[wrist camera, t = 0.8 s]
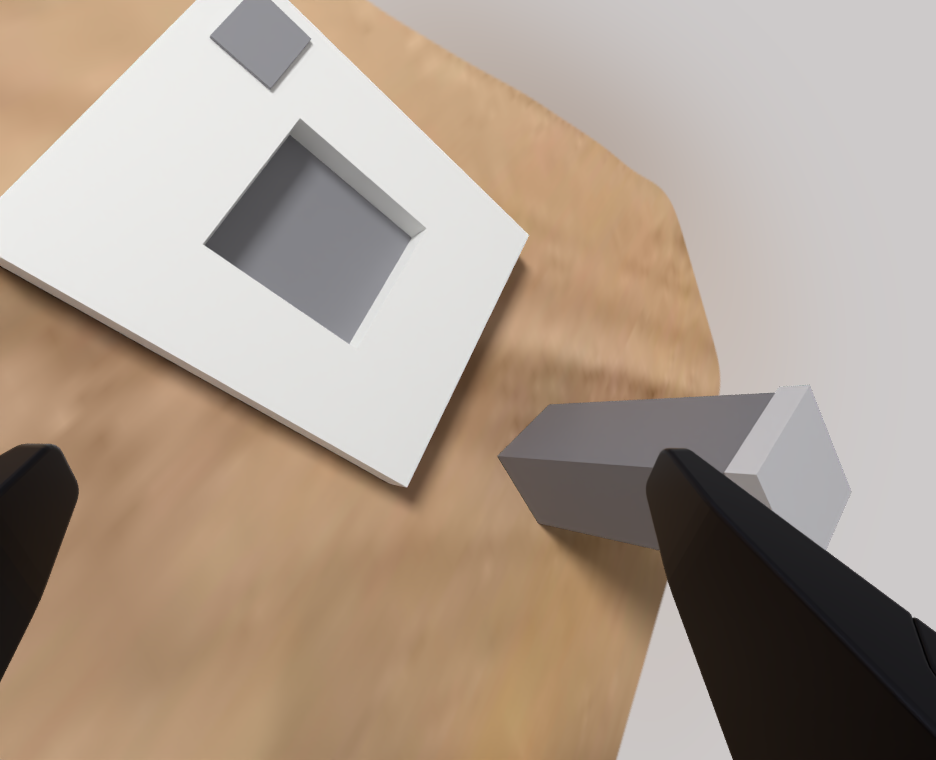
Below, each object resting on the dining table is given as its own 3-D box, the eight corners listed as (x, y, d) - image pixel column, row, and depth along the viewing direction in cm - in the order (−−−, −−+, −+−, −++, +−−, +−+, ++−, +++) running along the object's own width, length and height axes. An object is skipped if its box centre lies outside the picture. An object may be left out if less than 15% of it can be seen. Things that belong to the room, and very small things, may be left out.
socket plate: (390, 483, 23) (408, 487, 22) (-26, 251, 16) (-39, 234, 14) (509, 244, 28) (531, 234, 26) (233, -16, 21) (242, -49, 19)
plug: (537, 527, 28) (808, 590, 17) (493, 455, 26) (756, 474, 16) (587, 468, 30) (851, 491, 19) (549, 400, 29) (809, 384, 18)
